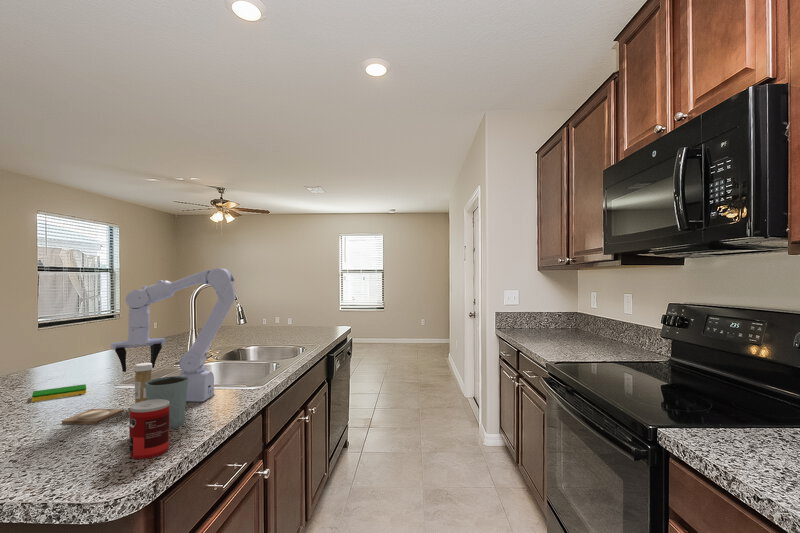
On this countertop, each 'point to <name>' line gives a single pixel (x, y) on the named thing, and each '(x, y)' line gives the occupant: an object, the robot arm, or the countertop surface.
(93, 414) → the spice coaster
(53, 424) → the countertop surface
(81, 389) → the dish sponge
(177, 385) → the grey-green tapered cup
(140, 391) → the spice jar
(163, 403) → the canned food
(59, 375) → the countertop surface
